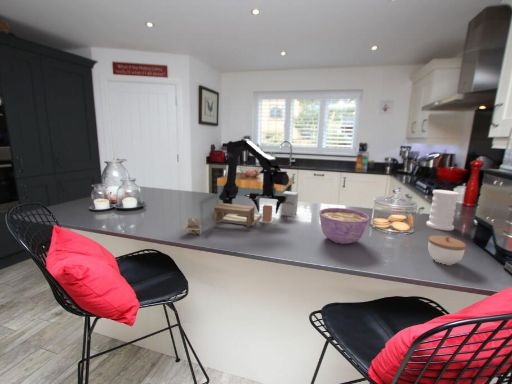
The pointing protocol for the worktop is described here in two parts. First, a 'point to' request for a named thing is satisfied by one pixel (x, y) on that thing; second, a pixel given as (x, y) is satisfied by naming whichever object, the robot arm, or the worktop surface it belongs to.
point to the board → (239, 218)
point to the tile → (267, 221)
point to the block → (267, 212)
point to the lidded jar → (446, 249)
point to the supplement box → (290, 204)
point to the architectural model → (194, 225)
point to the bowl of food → (343, 224)
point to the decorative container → (443, 209)
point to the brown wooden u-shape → (234, 212)
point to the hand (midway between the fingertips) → (267, 212)
